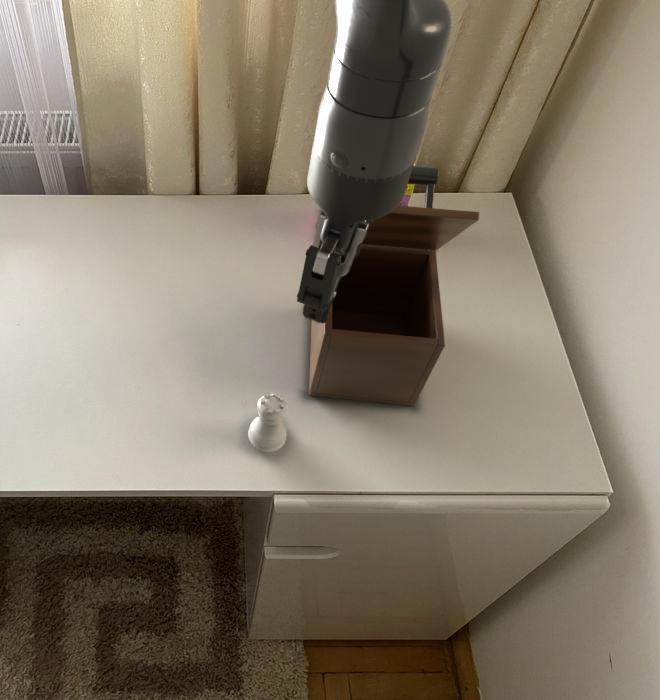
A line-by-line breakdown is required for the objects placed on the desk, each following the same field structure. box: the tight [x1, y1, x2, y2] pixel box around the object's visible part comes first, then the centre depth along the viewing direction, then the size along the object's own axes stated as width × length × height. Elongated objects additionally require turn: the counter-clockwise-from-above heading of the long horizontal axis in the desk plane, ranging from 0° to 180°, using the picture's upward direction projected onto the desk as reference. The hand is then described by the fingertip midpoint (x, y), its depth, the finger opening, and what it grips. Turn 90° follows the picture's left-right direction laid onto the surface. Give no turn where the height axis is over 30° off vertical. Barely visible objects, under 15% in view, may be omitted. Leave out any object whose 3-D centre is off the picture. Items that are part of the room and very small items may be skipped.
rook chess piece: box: [247, 392, 288, 453], centre depth 77 cm, size 4×4×8 cm
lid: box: [362, 165, 480, 251], centre depth 73 cm, size 14×13×5 cm
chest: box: [308, 244, 446, 407], centre depth 82 cm, size 14×13×13 cm
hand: (331, 284), depth 63 cm, fingers open, 8 cm apart
